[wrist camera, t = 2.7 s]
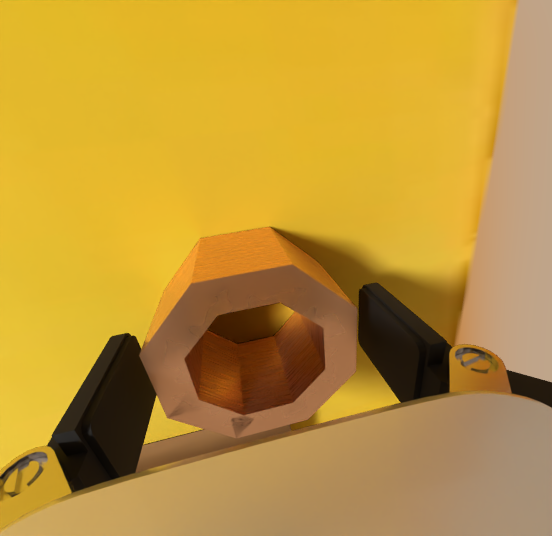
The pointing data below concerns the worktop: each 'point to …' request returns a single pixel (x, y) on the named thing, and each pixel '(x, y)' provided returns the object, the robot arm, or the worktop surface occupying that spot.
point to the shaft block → (194, 446)
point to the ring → (254, 354)
